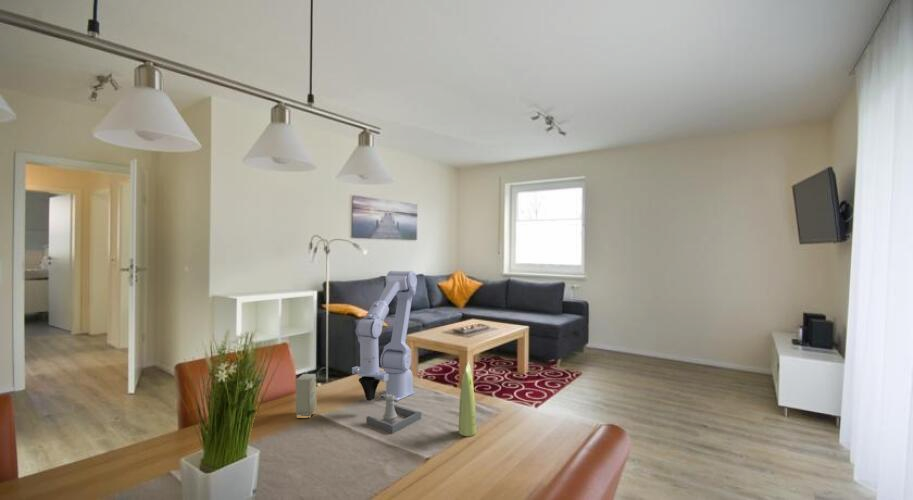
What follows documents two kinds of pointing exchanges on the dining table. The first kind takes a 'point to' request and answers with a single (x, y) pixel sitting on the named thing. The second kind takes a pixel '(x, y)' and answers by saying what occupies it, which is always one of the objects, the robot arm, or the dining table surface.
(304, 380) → the skincare box
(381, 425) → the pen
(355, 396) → the dining table surface
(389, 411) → the rook chess piece
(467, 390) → the light green tall cone
